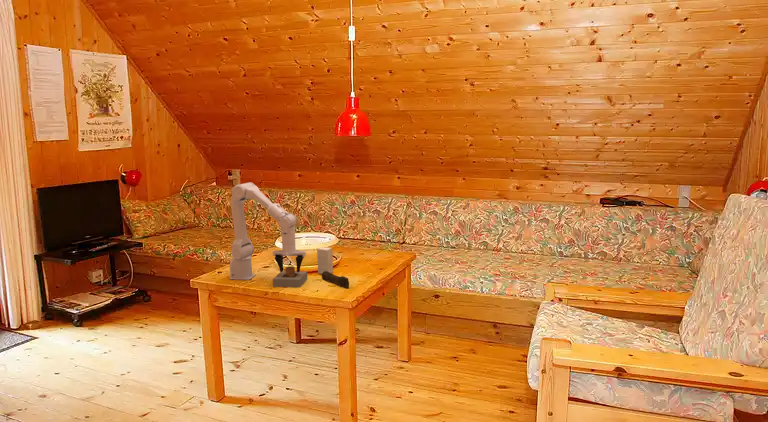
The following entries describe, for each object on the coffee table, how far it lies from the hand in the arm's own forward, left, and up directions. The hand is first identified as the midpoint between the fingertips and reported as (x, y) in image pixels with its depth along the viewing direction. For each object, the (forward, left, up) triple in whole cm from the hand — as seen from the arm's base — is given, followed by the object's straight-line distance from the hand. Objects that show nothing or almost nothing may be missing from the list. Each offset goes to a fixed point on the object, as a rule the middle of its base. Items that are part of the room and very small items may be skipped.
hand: (290, 271), depth 246 cm
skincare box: (+12, +16, -5) cm, 21 cm away
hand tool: (+21, +1, -6) cm, 22 cm away
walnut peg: (0, 0, -4) cm, 4 cm away
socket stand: (0, 0, -5) cm, 5 cm away
